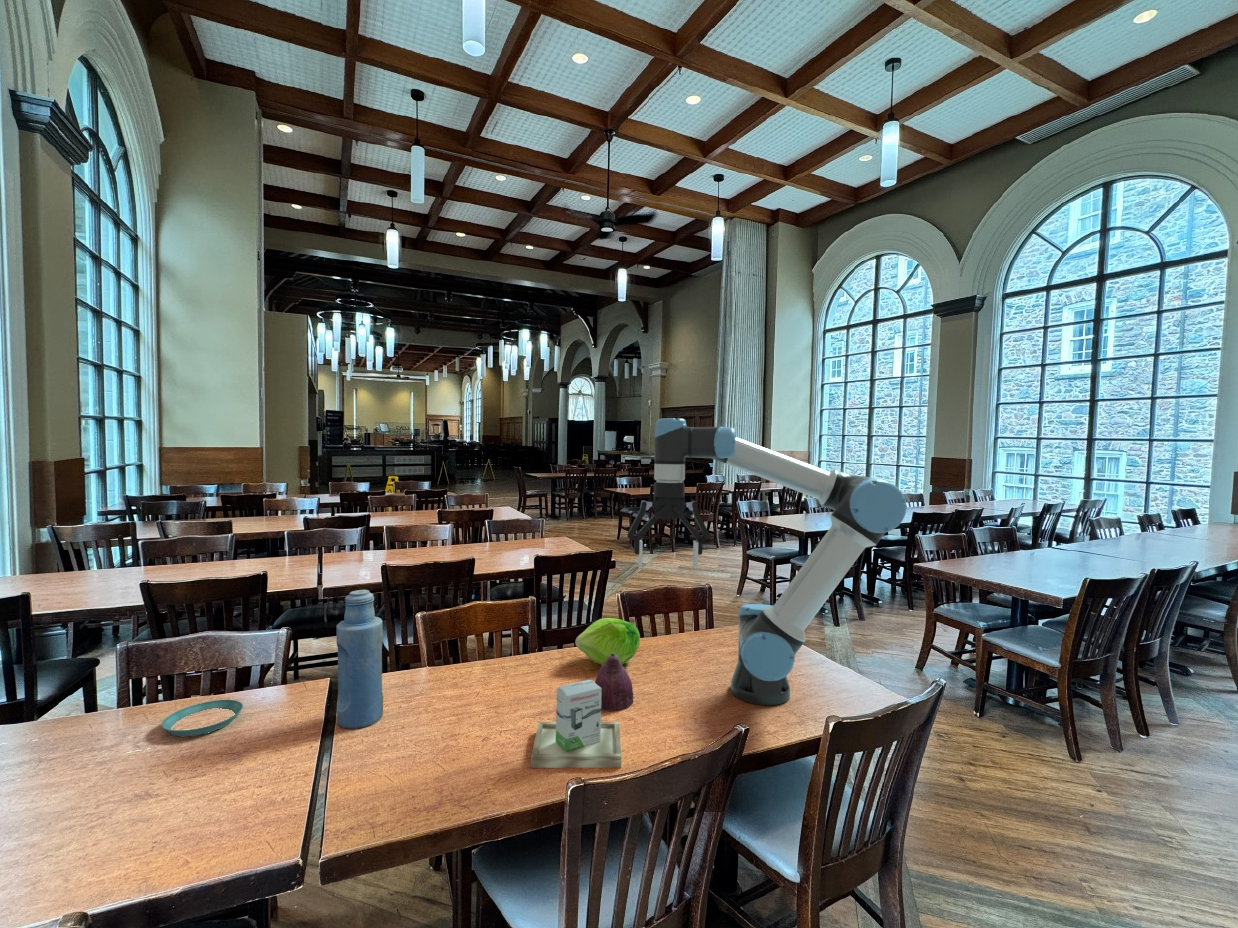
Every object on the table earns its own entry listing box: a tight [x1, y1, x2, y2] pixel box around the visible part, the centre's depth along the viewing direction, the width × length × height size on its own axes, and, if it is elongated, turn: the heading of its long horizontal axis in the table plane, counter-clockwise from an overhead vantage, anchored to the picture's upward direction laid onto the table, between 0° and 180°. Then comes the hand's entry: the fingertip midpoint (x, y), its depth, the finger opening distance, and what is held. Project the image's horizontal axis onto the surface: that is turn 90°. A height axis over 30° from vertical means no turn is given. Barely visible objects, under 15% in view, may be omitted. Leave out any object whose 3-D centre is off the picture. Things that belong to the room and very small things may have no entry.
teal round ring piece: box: [161, 699, 244, 737], centre depth 125 cm, size 15×15×3 cm
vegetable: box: [594, 653, 634, 712], centre depth 138 cm, size 10×10×15 cm
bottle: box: [336, 589, 384, 730], centre depth 128 cm, size 10×10×30 cm
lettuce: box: [575, 617, 641, 666], centre depth 164 cm, size 15×20×14 cm
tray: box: [530, 721, 622, 769], centre depth 117 cm, size 18×14×2 cm
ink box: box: [555, 679, 602, 752], centre depth 117 cm, size 9×5×12 cm, turn 122°
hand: (667, 567), depth 136 cm, fingers open, 13 cm apart
